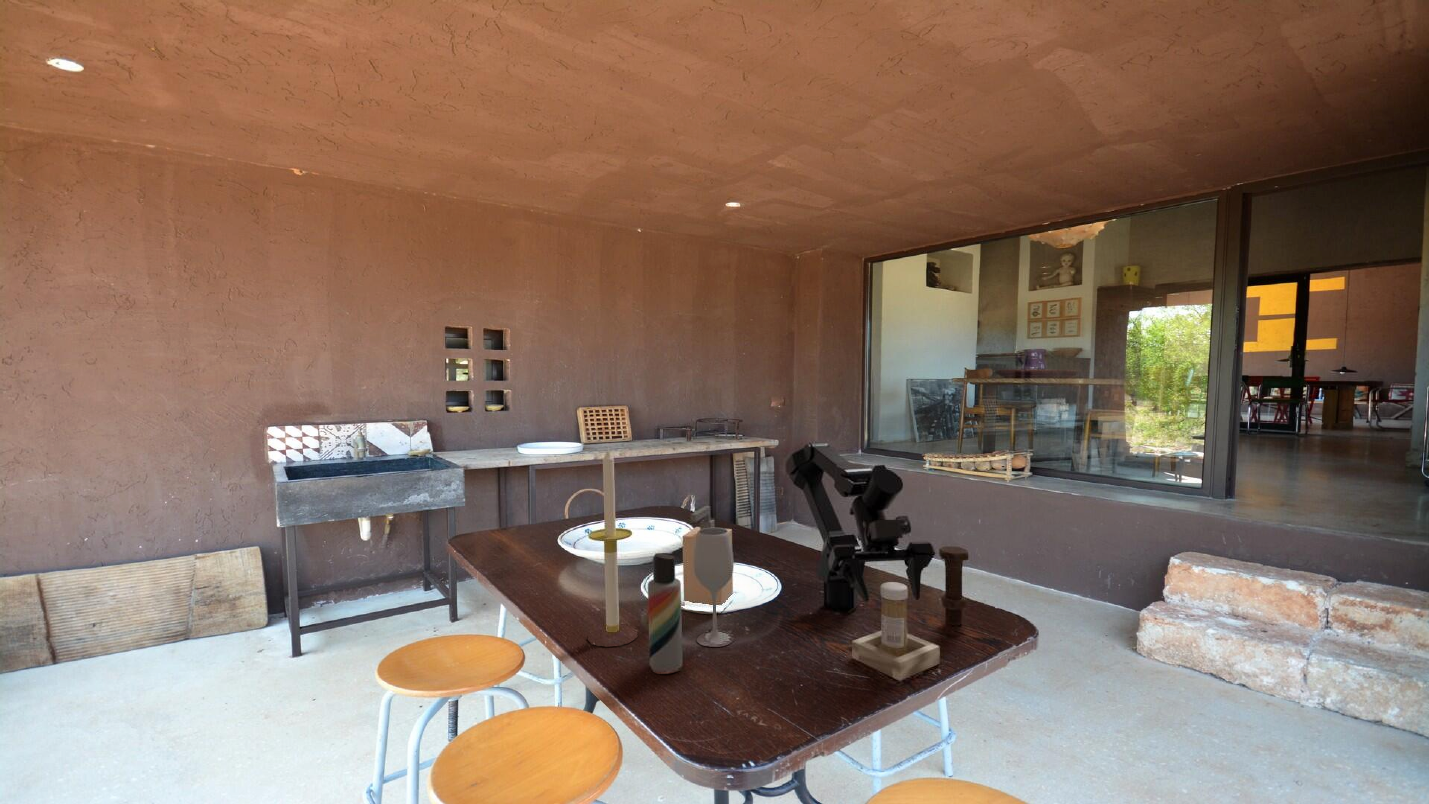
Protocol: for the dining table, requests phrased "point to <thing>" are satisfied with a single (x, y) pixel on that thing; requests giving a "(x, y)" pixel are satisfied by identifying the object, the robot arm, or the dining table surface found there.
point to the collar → (901, 667)
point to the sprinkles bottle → (894, 618)
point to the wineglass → (713, 569)
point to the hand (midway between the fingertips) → (892, 600)
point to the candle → (610, 544)
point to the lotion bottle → (664, 615)
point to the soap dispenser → (691, 585)
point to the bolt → (953, 583)
